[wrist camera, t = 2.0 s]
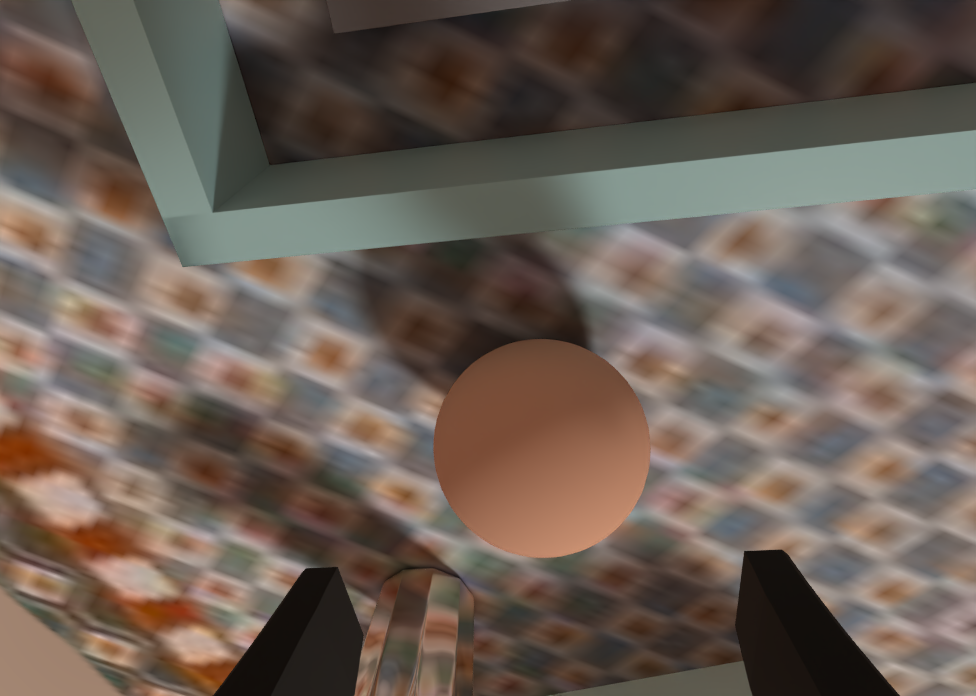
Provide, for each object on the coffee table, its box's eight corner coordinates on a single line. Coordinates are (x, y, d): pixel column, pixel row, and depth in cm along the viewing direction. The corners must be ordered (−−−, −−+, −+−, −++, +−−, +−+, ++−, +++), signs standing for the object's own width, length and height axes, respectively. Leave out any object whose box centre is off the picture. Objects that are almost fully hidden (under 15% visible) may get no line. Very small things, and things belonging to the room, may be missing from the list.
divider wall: (1136, -192, 10) (1333, -237, 8) (1035, 126, 13) (1158, 171, 10) (156, -35, 12) (58, -29, 10) (242, 212, 15) (182, 266, 12)
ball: (634, 292, 15) (671, 423, 11) (635, 449, 18) (666, 603, 14) (431, 309, 16) (395, 440, 12) (462, 458, 19) (440, 609, 14)
